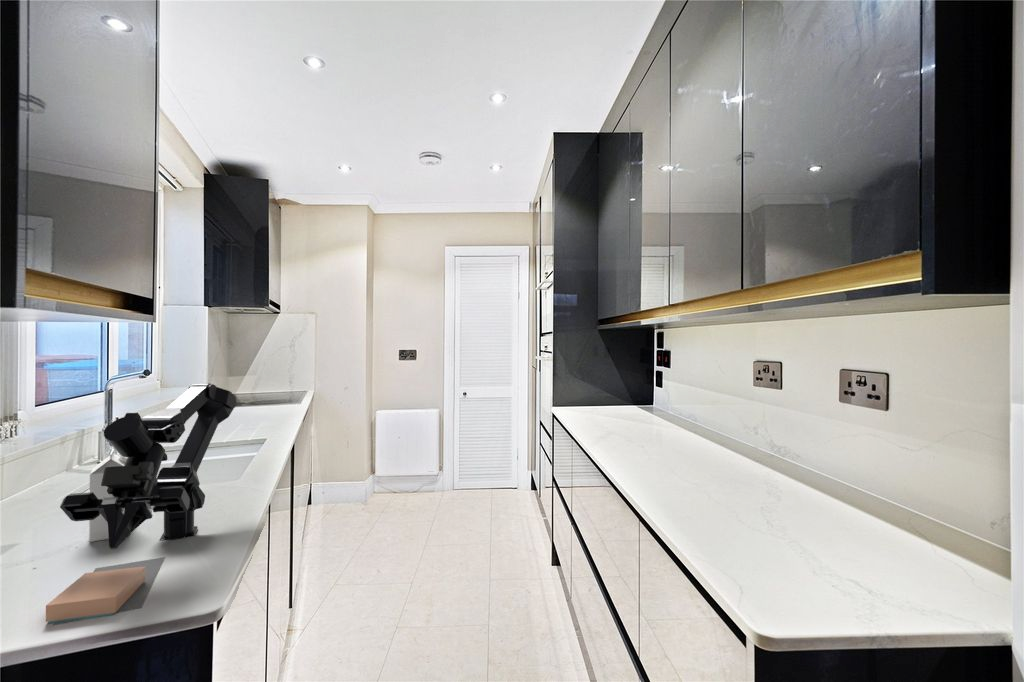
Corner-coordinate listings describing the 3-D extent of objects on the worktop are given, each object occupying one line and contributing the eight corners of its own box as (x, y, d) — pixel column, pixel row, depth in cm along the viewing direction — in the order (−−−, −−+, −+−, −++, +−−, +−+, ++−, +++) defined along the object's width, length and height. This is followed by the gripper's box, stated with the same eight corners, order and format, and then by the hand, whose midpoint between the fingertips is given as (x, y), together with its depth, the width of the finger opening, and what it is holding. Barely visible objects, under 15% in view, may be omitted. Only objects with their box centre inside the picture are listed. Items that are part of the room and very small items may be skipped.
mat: (95, 571, 93) (95, 568, 93) (165, 559, 98) (165, 556, 98) (52, 629, 74) (52, 625, 74) (141, 611, 79) (141, 607, 79)
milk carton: (88, 543, 106) (89, 456, 106) (92, 532, 112) (93, 450, 112) (130, 535, 110) (130, 452, 110) (131, 526, 116) (132, 446, 116)
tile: (85, 573, 85) (45, 605, 74) (145, 566, 88) (115, 596, 77) (85, 588, 85) (45, 623, 74) (145, 581, 88) (115, 614, 77)
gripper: (66, 449, 88) (25, 533, 77) (185, 444, 93) (161, 521, 83) (90, 481, 95) (54, 561, 85) (198, 474, 101) (178, 549, 90)
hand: (112, 547), depth 85 cm, fingers closed
